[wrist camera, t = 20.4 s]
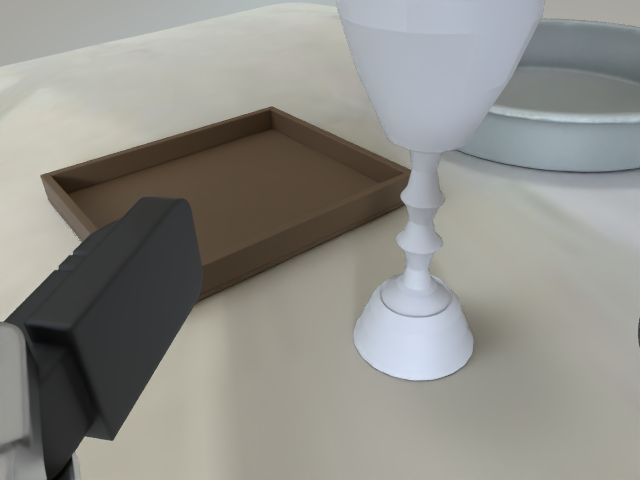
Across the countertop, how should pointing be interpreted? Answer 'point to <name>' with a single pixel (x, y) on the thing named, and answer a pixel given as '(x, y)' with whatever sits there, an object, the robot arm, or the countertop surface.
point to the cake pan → (568, 101)
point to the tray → (238, 189)
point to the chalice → (428, 151)
